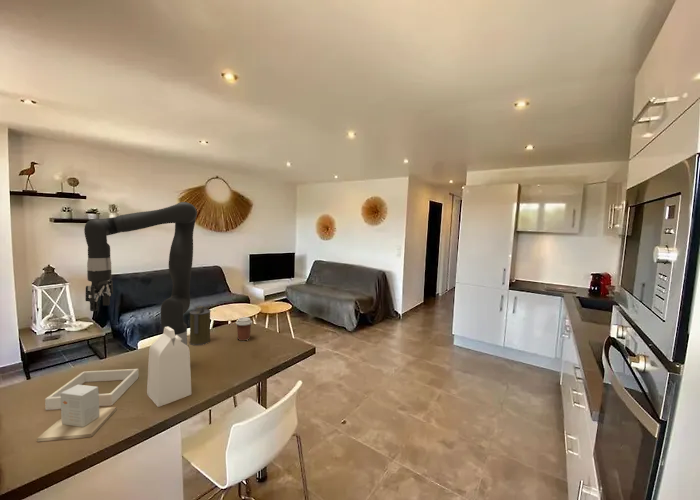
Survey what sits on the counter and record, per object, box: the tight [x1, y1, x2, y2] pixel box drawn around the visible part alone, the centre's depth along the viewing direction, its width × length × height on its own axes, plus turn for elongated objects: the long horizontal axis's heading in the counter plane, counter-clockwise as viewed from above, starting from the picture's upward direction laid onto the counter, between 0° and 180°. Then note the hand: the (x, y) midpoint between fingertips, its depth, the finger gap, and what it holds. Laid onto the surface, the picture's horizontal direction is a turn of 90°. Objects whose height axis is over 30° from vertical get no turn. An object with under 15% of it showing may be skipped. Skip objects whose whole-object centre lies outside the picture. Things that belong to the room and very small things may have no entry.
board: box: [36, 406, 118, 443], centre depth 98 cm, size 14×14×1 cm
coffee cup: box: [235, 316, 253, 341], centre depth 175 cm, size 9×9×12 cm
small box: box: [60, 384, 100, 427], centre depth 98 cm, size 8×6×10 cm
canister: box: [189, 305, 211, 346], centre depth 168 cm, size 11×10×20 cm
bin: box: [44, 368, 139, 411], centre depth 116 cm, size 20×20×4 cm
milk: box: [146, 327, 192, 408], centre depth 116 cm, size 12×12×26 cm
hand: (100, 307), depth 123 cm, fingers open, 8 cm apart
